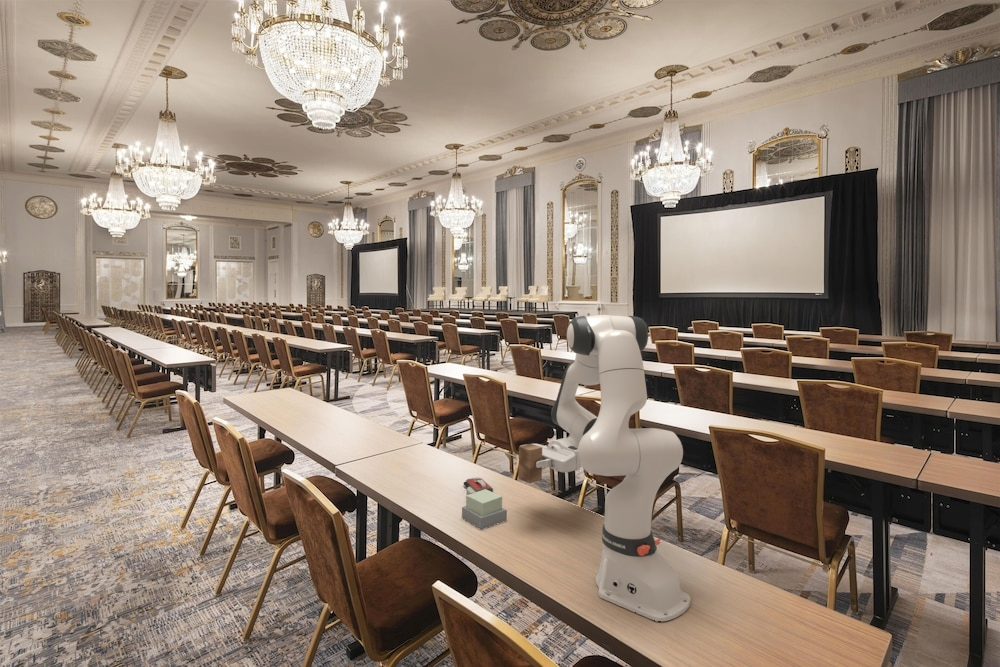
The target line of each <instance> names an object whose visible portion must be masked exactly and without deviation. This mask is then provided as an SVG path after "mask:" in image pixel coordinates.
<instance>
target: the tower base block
mask: <svg viewBox="0 0 1000 667" xmlns="http://www.w3.org/2000/svg"><path fill="white" fill-rule="evenodd" d="M507 512H508V510H507V509H506V508H504V507H502V509H501V510H498V511H495V512H493V513H490V514H487V515H485V516H481V515H479V514H477V513H475V512H473V511H471V510H469V509H467V508H466V505H465V506H462V507H461V518H463V519H462V520H464V519H465V520H464V521H465V522H467V521H468V522H467V523H469V524H471V525H472V524H473V526H474V525H475V526H474V527H476V528H477V527H478V528H477V529H479V528H480V529H479V530H481V529H482V530H484V528H485V529H487V528H486V527H488V528H490V527H493V526H495V525H494V524H496V525H498V524H497V523H499V524H501V523H500V522H502V523H504V522H503V521H505V522H507V516H508V515H507ZM492 525H493V526H492ZM489 526H490V527H489Z"/></svg>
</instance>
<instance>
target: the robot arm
mask: <svg viewBox="0 0 1000 667" xmlns="http://www.w3.org/2000/svg"><path fill="white" fill-rule="evenodd" d="M648 340H649V330H648V325H647V323H646V322H645V320H644V319H643V318H641V317H638V316H636V315H634V316H633V315H628V316H627V315H626V316H625V315H613V314H612V315H609V314H598V315H597V314H595V315H587V316H585V315H582V316H576V317H573V318H572V319H571V320H570V321H569V323H568V326H567V329H566V341H567V343H568V347H569V349H570V350H571V351H572V352H573V353H575V359H574V360H573V361H571V362H570V363H569V364H568V365H567V366H566V368H565V370H564V373H563V375H562V378H561V382H560V385H559V386H560V387H559V389H558V393H557V396H556V399H555V401H554V403H553V405H552V408H551V412H550V415H551V420H552V423H554V424H555V425H556V426H558V427H560V428H562V429H563V430H564V431H565V432H567V433H569V435H568V436H567V437H563V438H559V439H554V440H551V441H550V442H549V443H547V446H546V445H543V444H539V443H532V444H533V445H536V446H539V447H542V460H541V461H540V460H537V461H534V467H537V468H540V467H542V468H548V469H551V470H554V471H556V472H560V473H570V472H573V471H575V472H576V471H580V470H581V466H582V469H583V470H584V471H585V472H586V473H588V474H591V475H597V476H603V477H617V476H618V477H619V476H621V477H622V476H625V477H624V478H623V480H622V481H621V482H620V483H618V484H617V485H615V486H614V487H613V488H611V489H610V490H609V491H608V493H607V495H606V497H605V501H604V523H603V524H602V530H601V531H602V533H601V541H602V549H601V550H602V552H601V559H600V563H599V567H598V571H597V574H596V576H595V584H596V586H597V588H598V592H597V593H598V594H597V595H598V597H599V598H600V599H603V600H605V601H607V602H609V603H612V604H614V605H617V606H618V607H619V606H620V607H622V608H624V609H626V610H628V611H631V612H633V613H635V612H636V613H635V614H638V615H640V616H642V617H644V618H646V619H650V620H651V621H654V620H655V622H658V621H661V622H667V621H670V620H674V619H675V618H676V619H677V618H678V617H680V616H681V615H682V614H684V613H685V612H686V611H687V610H688V609H689V607H690V605H691V596H690V595H689V594H688V593H686V592H685V591H684V590H682V589H681V583H680V582H681V580H680V576H679V574H678V572H677V571H676V570H675V569H674V568H673V566H672V565H671V564H670V563H669V562H668V561H667V559H666V558H665V557H664V556H663V555H662V553H661V552H660V551H659V550H658V548H657V546H658V545H660V544H661V538H658V539H655V537H654V533H653V531H652V516H653V515H652V514H653V506H654V502H655V501H654V500H655V498H656V496H657V494H658V491H659V489H660V487H661V485H662V484H663V483H664V481H665V480H666V478H667V477H668V476H669V475H670V474H672V473H673V472H674V471H676V470H677V469H678V468H679V467H680V465H681V464H682V461H683V456H684V449H683V444H682V441H681V440H680V438H679V437H678V436H677V434H676V433H675V432H674V431H672V430H667V429H662V428H656V427H655V428H654V427H645V428H643V427H642V428H640V427H639V428H630V427H629V426H630V425H629V422H630V418H631V416H633V415H634V414H636V413H637V412H639V411H640V410H642V409H643V408H644V406H645V405H646V404H647V401H648V393H647V385H646V377H645V368H644V363H643V357H642V353H641V352H643V351H644V350H645V348H646V347H647V345H648ZM579 384H580V385H583V386H595V385H599V384H600V386H599V387H600V408H599V412H598V415H595V414H594V413H592V412H591V411H589V410H587V409H586V408H585V407H583V406H582V405H580V403H579V402H578V401H577V400H576V394H577V391H578V388H579ZM528 444H529V443H528ZM528 444H526V445H528ZM523 445H524V444H522V445H520V446H523Z"/></svg>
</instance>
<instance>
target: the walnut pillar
mask: <svg viewBox="0 0 1000 667" xmlns="http://www.w3.org/2000/svg"><path fill="white" fill-rule="evenodd" d="M533 444H534V443H528V445H527V444H522V445H523V446H521V445H520V446H518V474H517V475H518V476H517V477H518V479H519V480H520V481H523V482H525V483H528V484H532V483H536V482H539V481H542V478H543V476H542V475H543V474H542V473H543V467H540V468H537V467H534V461H537V460H540V461H541V460H542V447H539V446H536V445H533Z"/></svg>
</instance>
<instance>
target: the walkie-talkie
mask: <svg viewBox="0 0 1000 667" xmlns="http://www.w3.org/2000/svg"><path fill="white" fill-rule="evenodd" d="M463 486H465V488H466V495H469V494H472V493H475V492H478V491H481V490H484V489H486V490H489V491H491V492H493V493H494V488H493V487H492V486H491V485H489V483H487V482H486V481H485V480H484V479H483V478H482V477H471V478H467V479H466V480H465V481H464V482H463Z"/></svg>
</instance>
